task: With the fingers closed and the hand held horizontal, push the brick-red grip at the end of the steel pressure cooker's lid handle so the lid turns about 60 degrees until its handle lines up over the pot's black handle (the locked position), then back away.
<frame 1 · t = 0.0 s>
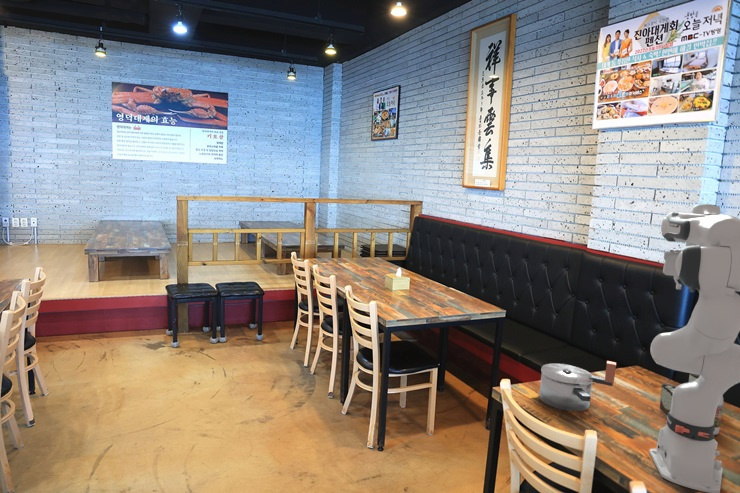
hand: (694, 291, 169), 48 cm above the table, tool pointing down, fingers open, 8 cm apart
lid: (577, 366, 184), point 14 cm above the table, hinge at 60.0°
milk bottle: (705, 430, 170), on the table
cooker pot: (563, 400, 187), on the table
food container: (673, 415, 181), on the table
coffee can: (700, 409, 188), on the table
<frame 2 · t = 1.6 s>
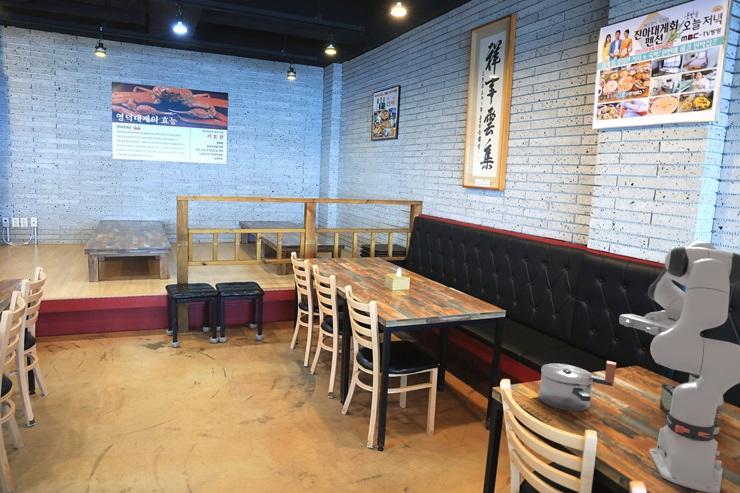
hand: (636, 327, 185), 30 cm above the table, tool horizontal, fingers open, 7 cm apart
nothing on the table moved.
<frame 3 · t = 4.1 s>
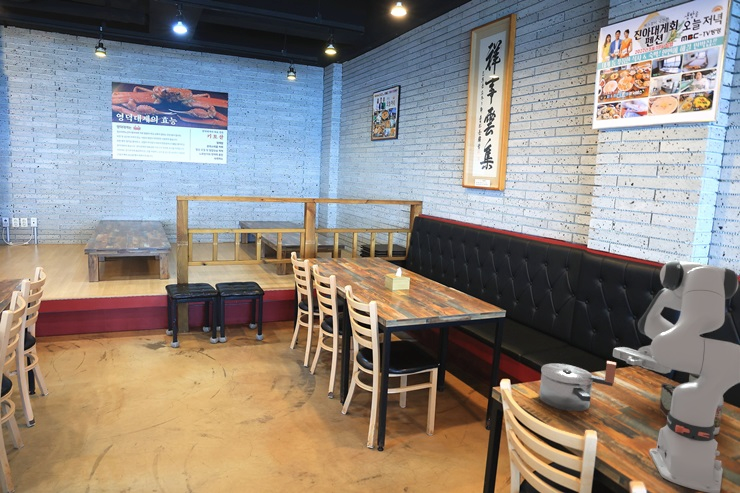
hand: (630, 362, 186), 17 cm above the table, tool horizontal, fingers closed
nothing on the table moved.
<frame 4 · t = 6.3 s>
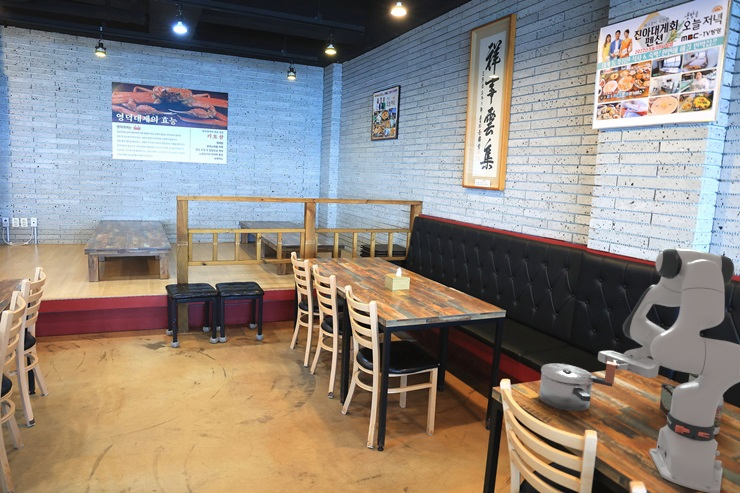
hand: (614, 366, 179), 17 cm above the table, tool horizontal, fingers closed
lid: (577, 367, 184), point 14 cm above the table, hinge at 57.9°, touching gripper
everything else where it was.
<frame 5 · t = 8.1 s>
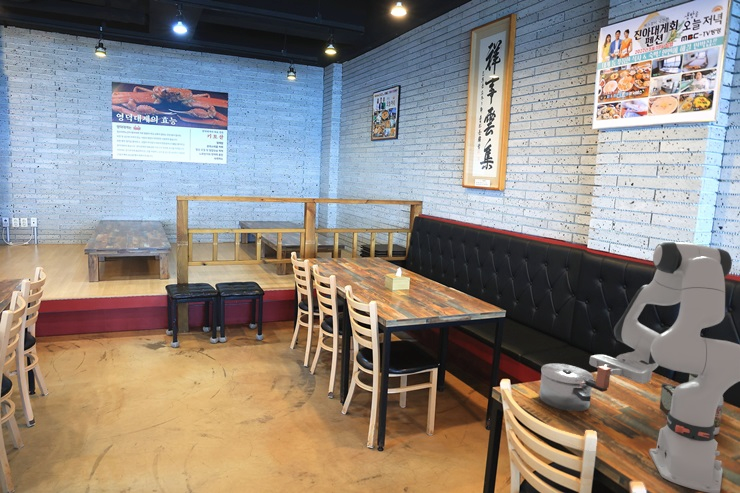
hand: (606, 371, 174), 17 cm above the table, tool horizontal, fingers closed
lid: (575, 368, 183), point 14 cm above the table, hinge at 28.4°, touching gripper
everything else where it was.
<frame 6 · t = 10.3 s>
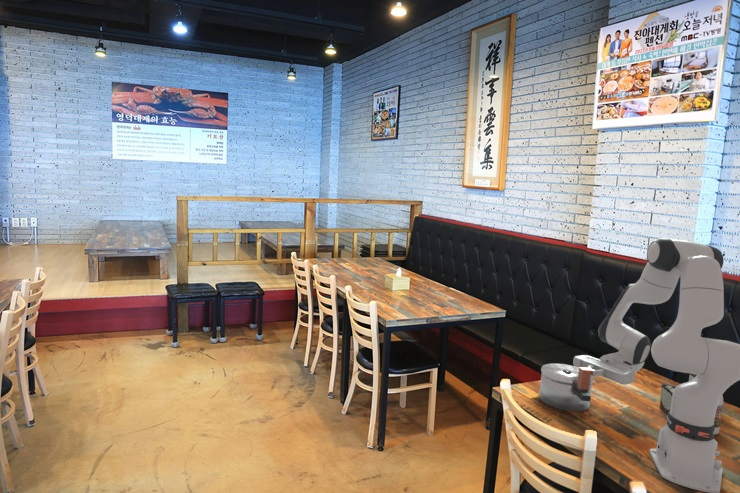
hand: (589, 372, 172), 17 cm above the table, tool horizontal, fingers closed
lid: (571, 368, 182), point 14 cm above the table, hinge at -3.7°, touching gripper
everything else where it was.
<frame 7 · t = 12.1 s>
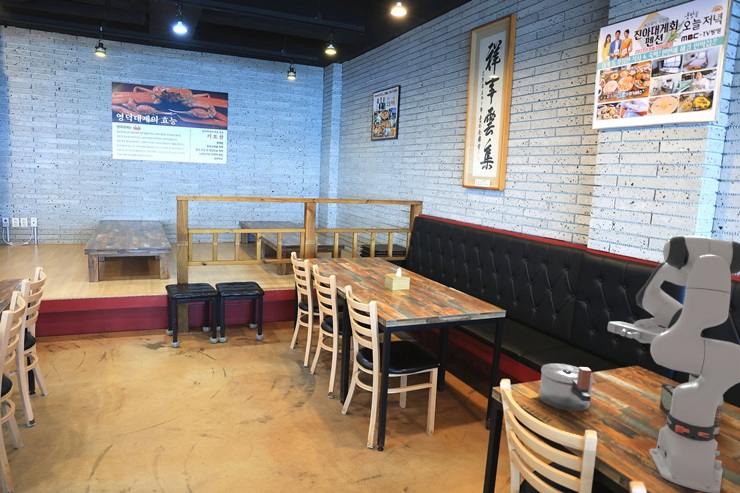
hand: (625, 334, 178), 29 cm above the table, tool horizontal, fingers closed
lid: (571, 368, 182), point 14 cm above the table, hinge at -3.7°
everything else where it was.
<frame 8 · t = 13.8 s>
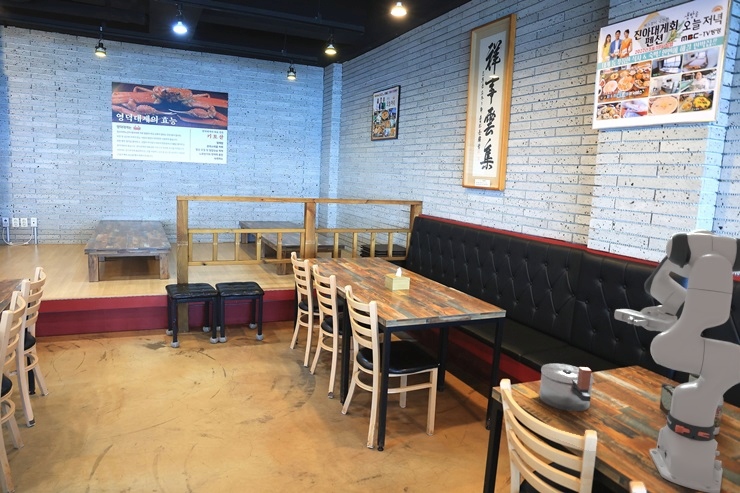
hand: (632, 322, 177), 34 cm above the table, tool horizontal, fingers closed
nothing on the table moved.
at the end: lid at -4° (first picture: +60°) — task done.
